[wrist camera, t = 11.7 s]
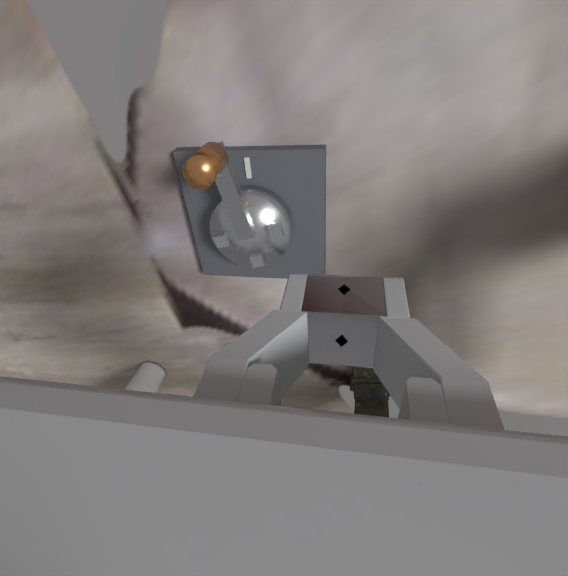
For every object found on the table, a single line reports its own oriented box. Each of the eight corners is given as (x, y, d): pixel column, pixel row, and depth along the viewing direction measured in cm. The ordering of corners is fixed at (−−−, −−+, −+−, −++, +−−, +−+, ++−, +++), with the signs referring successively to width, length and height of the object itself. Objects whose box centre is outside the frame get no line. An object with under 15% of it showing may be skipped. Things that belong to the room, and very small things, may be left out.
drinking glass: (165, 384, 76) (130, 452, 64) (134, 371, 75) (93, 438, 63) (173, 367, 72) (137, 437, 60) (141, 353, 71) (98, 422, 59)
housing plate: (325, 144, 40) (324, 149, 39) (325, 273, 51) (324, 281, 50) (177, 147, 43) (171, 152, 42) (206, 268, 54) (203, 275, 53)
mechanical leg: (392, 410, 67) (409, 599, 40) (353, 408, 69) (345, 589, 42) (390, 348, 62) (409, 518, 35) (348, 348, 64) (335, 510, 37)
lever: (301, 249, 47) (291, 292, 40) (233, 259, 50) (212, 301, 43) (263, 119, 38) (240, 145, 31) (182, 141, 41) (145, 170, 34)
